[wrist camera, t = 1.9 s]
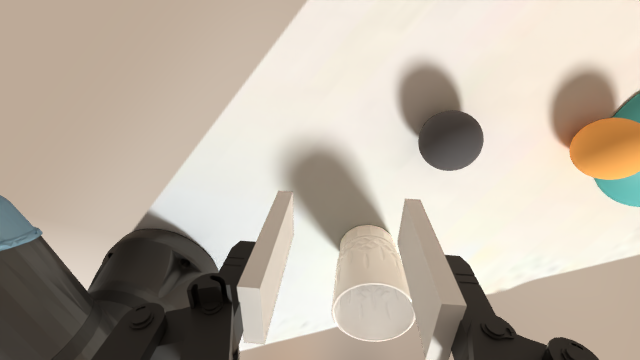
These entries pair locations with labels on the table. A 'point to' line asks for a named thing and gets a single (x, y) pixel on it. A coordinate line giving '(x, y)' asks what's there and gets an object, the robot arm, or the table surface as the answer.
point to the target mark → (633, 187)
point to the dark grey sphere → (450, 140)
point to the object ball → (607, 148)
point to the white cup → (371, 287)
